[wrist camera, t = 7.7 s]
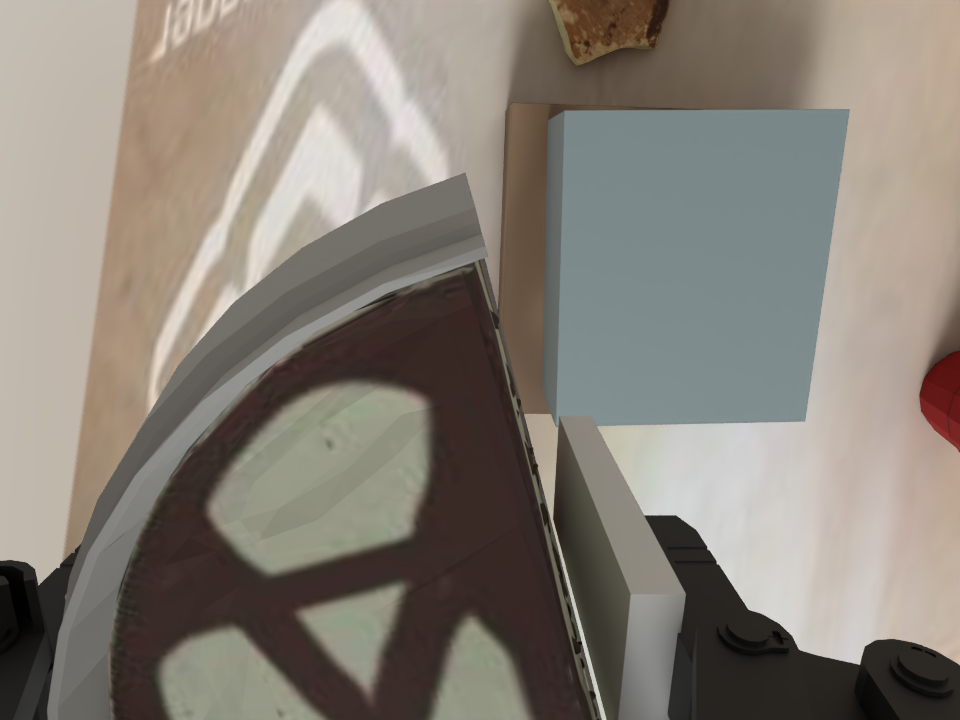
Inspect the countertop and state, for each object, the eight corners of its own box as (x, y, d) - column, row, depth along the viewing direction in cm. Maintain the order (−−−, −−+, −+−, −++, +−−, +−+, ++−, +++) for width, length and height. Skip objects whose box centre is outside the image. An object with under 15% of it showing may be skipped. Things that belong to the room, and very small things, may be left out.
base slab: (494, 384, 40) (500, 413, 35) (504, 112, 36) (512, 102, 31) (744, 388, 41) (783, 417, 36) (785, 122, 36) (835, 114, 32)
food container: (200, 240, 14) (-307, 380, 5) (462, 170, 14) (468, 174, 5) (363, 669, 18) (252, 1237, 8) (575, 619, 18) (712, 1149, 8)
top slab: (542, 392, 35) (556, 426, 30) (547, 120, 31) (564, 110, 26) (757, 388, 35) (805, 421, 31) (789, 119, 32) (849, 109, 27)
